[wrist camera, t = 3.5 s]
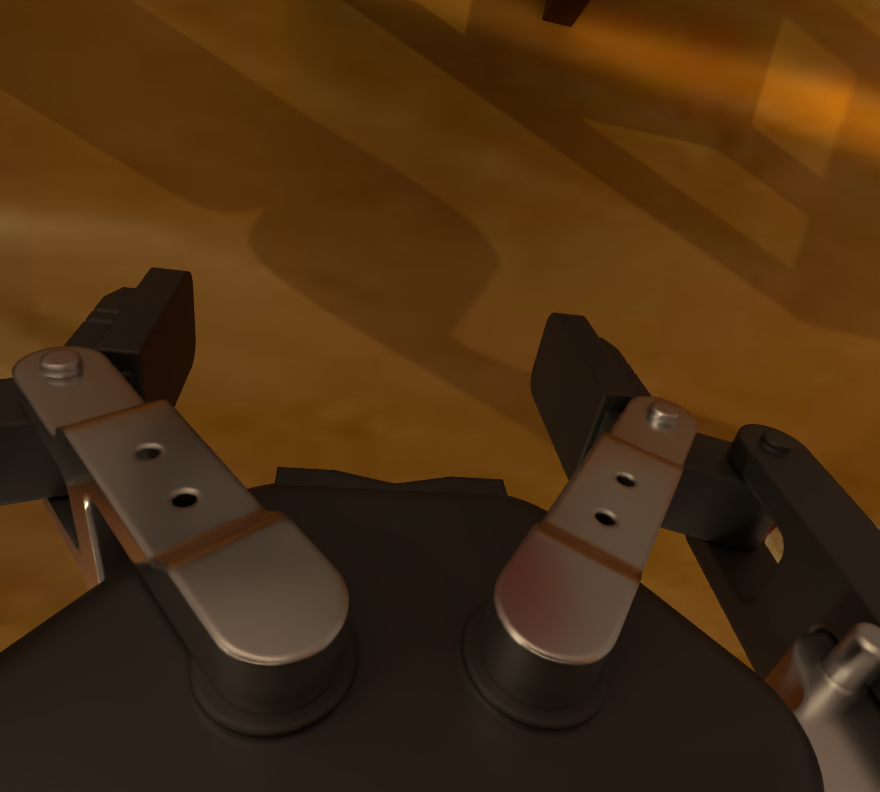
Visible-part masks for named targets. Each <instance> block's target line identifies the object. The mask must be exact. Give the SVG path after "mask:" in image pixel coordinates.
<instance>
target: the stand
mask: <svg viewBox="0 0 880 792" xmlns="http://www.w3.org/2000/svg"><path fill="white" fill-rule="evenodd" d="M590 1H591V0H546V5H545V10H544V14H543V20H544V21H548V22H552V23H556V24H561V25H565V26H569V27H572V25H573V24H574V23H575V21H576V20H577V18H578V17H579V16H580V14H581V13H582V12H583V10H584V9H585V8H586V6H587V5H588V4H589V2H590Z"/></svg>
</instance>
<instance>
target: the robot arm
mask: <svg viewBox="0 0 880 792" xmlns="http://www.w3.org/2000/svg"><path fill="white" fill-rule="evenodd" d="M195 344H196V337H195V317H194V297H193V281H192V276H191V273H190V272H189V271H181V270H172V269H163V268H154V267H152V268H151V269H150V270H149V271H148V273H147V274H146V275H145V277H144V278H143V280H142V281H141V282H140V284H139V285H138V286H137V288H127V287H123V288H120V289H118V290H116V291H114V292H112V293H110V294H108V295H106V296H104V297H103V298H102V300H101V301H100V302H99V303H98V305H97V306H96V307H95V308H94V311H92V312H91V313H90V314H89V316H88V317H87V318H86V321H84V322H83V323H82V324H81V326H80V327H79V328H78V329H77V331H76V332H75V333H74V334H73V336H72V337H71V338H70V339H69V340H68V342H67V343H66V344H65V345H64V346H61V347H52V348H47V349H43V350H39V351H36V352H33V353H31V354H28V355H26V356H25V357H23V358H21V359H20V360H19V361H18V362H16V364H15V365H14V366H13V369H12V376H13V377H12V378H7V379H0V506H1V505H7V504H14V503H20V502H26V501H32V500H38V499H42V500H43V503H44V506H45V508H46V510H47V511H48V513H49V515H50V517H51V518H52V520H53V522H54V524H55V525H56V527H57V529H58V531H59V533H60V534H61V536H62V538H63V540H64V541H65V543H66V545H67V547H68V548H69V550H70V552H71V554H72V555H73V557H74V559H75V561H76V563H77V564H78V566H79V568H80V570H81V572H82V574H83V577H84V579H85V582H86V585H87V588H88V592H86V593H85V594H83V595H82V596H80V597H79V598H78V599H76V600H75V601H73V602H72V603H70V604H69V605H68V606H66V607H65V608H63V609H62V610H60V611H59V612H58V613H56V614H55V615H53V616H52V617H50V618H49V619H48V620H46V621H45V622H43V623H42V624H40V625H39V626H37V627H36V628H35V629H33V630H32V631H30V632H29V633H27V634H26V635H25V636H23V637H22V638H20V639H19V640H17V641H16V642H15V643H13V644H12V645H10V646H9V647H7V648H6V649H5V650H3V651H2V652H0V792H880V530H879V529H878V528H877V527H876V526H875V524H874V523H873V522H872V521H871V520H870V519H869V518H868V517H867V515H866V514H865V513H864V512H863V511H862V510H861V509H860V508H859V506H858V505H857V504H856V503H855V502H854V501H853V500H852V499H851V497H850V496H849V495H848V494H847V493H846V492H845V491H844V490H843V488H842V487H841V486H840V485H839V484H838V483H837V482H836V481H835V480H834V478H833V477H832V476H831V475H830V474H829V473H828V472H827V471H826V469H825V468H824V467H823V466H822V465H821V464H820V463H819V462H818V460H817V459H816V458H815V457H814V456H813V455H812V454H811V453H810V451H809V450H808V449H807V448H806V447H805V446H804V445H803V444H801V443H800V442H799V441H798V440H796V439H795V438H793V437H791V436H790V435H788V434H786V433H784V432H782V431H779V430H777V429H774V428H771V427H768V426H764V425H758V424H748V425H744V426H742V427H741V428H740V429H739V431H738V433H737V435H736V437H735V439H734V441H733V442H729V441H726V440H722V439H718V438H714V437H711V436H707V435H703V434H700V433H697V430H698V424H697V421H696V420H695V418H694V417H693V416H692V415H691V414H690V413H689V412H688V411H687V410H685V409H684V408H682V407H681V406H679V405H677V404H675V403H673V402H671V401H668V400H665V399H662V398H659V397H654V396H651V395H650V393H649V392H648V390H647V389H646V388H645V386H644V385H643V384H642V382H641V381H640V379H639V378H638V377H637V375H636V374H634V371H633V370H632V368H631V367H630V365H629V364H626V363H627V361H626V360H625V358H624V357H623V356H622V354H621V353H620V351H619V350H618V349H617V348H615V347H614V346H613V345H611V344H610V343H609V342H607V341H606V340H604V339H603V338H599V337H598V335H597V334H596V332H595V331H594V329H593V328H592V326H591V325H590V324H589V322H588V321H587V319H586V318H585V317H584V316H580V315H571V314H562V313H552V314H551V315H550V316H549V318H548V320H547V322H546V325H545V329H544V332H543V336H542V339H541V342H540V346H539V349H538V353H537V356H536V359H535V363H534V366H533V370H532V375H531V392H532V396H533V398H534V401H535V403H536V405H537V408H538V410H539V412H540V415H541V417H542V419H543V422H544V424H545V426H546V429H547V431H548V433H549V436H550V438H551V440H552V443H553V445H554V447H555V450H556V452H557V454H558V457H559V459H560V461H561V464H562V466H563V468H564V471H565V473H566V475H567V478H568V480H569V481H568V483H567V484H566V486H565V487H564V489H563V490H562V492H561V493H560V495H559V496H558V498H557V499H556V501H555V502H554V503H553V505H552V506H551V508H550V509H549V511H548V512H547V511H545V510H544V509H542V508H540V507H538V506H536V505H533V504H531V503H529V502H526V501H524V500H521V499H518V498H514V497H511V496H507V492H506V489H505V486H504V482H503V480H501V479H483V478H465V477H444V478H436V479H429V480H421V481H413V482H406V483H389V482H384V481H380V480H376V479H371V478H367V477H363V476H358V475H354V474H350V473H345V472H341V471H337V470H322V469H304V468H286V467H277V473H276V479H275V483H274V484H267V485H262V486H257V487H253V488H249V489H247V488H246V487H245V486H244V485H243V484H242V483H241V482H240V481H239V480H238V478H237V477H236V476H235V475H234V474H233V473H232V472H231V471H230V469H229V468H228V467H227V466H226V465H225V464H224V463H223V462H222V461H221V459H220V458H219V457H218V456H217V455H216V454H215V453H214V452H213V450H212V449H211V448H210V447H209V446H208V445H207V444H206V443H205V442H204V440H203V439H202V438H201V437H200V436H199V435H198V434H197V433H196V431H195V430H194V429H193V428H192V427H191V426H190V425H189V424H188V422H187V421H186V420H185V419H184V418H183V417H182V416H181V415H180V414H179V412H178V411H177V410H176V409H175V408H174V407H175V405H176V402H177V400H178V398H179V395H180V393H181V391H182V388H183V386H184V384H185V381H186V379H187V377H188V374H189V372H190V370H191V367H192V365H193V361H194V355H195ZM773 524H775V525H776V526H777V528H778V529H779V531H780V533H781V535H782V538H783V543H784V550H783V555H782V558H781V560H780V561H779V563H778V562H777V561H776V559H775V558H774V556H773V555H772V553H771V552H770V550H769V549H768V547H767V546H766V544H765V543H764V541H763V539H764V538H765V536H766V535H767V533H768V531H769V530H770V528H771V527H772V525H773ZM660 527H661V528H664V529H668V530H671V531H675V532H678V533H682V534H685V536H686V539H687V542H688V544H689V546H690V548H691V549H692V551H693V553H694V555H695V557H696V559H697V561H698V563H699V565H700V567H701V569H702V571H703V572H704V574H705V576H706V578H707V580H708V582H709V584H710V586H711V588H712V590H713V592H714V594H715V595H716V597H717V599H718V601H719V603H720V605H721V607H722V609H723V611H724V613H725V615H726V616H727V618H728V620H729V622H730V624H731V626H732V628H733V630H734V632H735V634H736V636H737V638H738V639H739V641H740V643H741V645H742V647H743V649H744V651H745V653H746V655H747V657H748V659H749V661H750V662H751V664H752V666H753V668H754V670H755V672H756V673H755V672H754V671H753V670H751V669H750V668H749V667H748V666H746V665H745V664H744V663H742V662H741V661H740V660H739V659H737V658H736V657H735V656H734V655H732V654H731V653H730V652H728V651H727V650H726V649H725V648H723V647H722V646H721V645H720V644H718V643H717V642H716V641H714V640H713V639H712V638H711V637H709V636H708V635H707V634H705V633H704V632H703V631H702V630H700V629H699V628H698V627H697V626H695V625H694V624H693V623H691V622H690V621H689V620H688V619H686V618H685V617H684V616H683V615H681V614H680V613H679V612H677V611H676V610H675V609H674V608H672V607H671V606H670V605H669V604H667V603H666V602H665V601H663V600H662V599H661V598H660V597H658V596H657V595H656V594H655V593H653V592H652V591H651V590H649V589H648V588H647V587H646V586H644V585H643V584H642V583H640V581H641V578H642V576H641V575H642V572H643V569H644V567H645V564H646V562H647V559H648V557H649V554H650V552H651V549H652V547H653V544H654V542H655V539H656V537H657V535H658V532H659V530H660Z"/></svg>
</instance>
